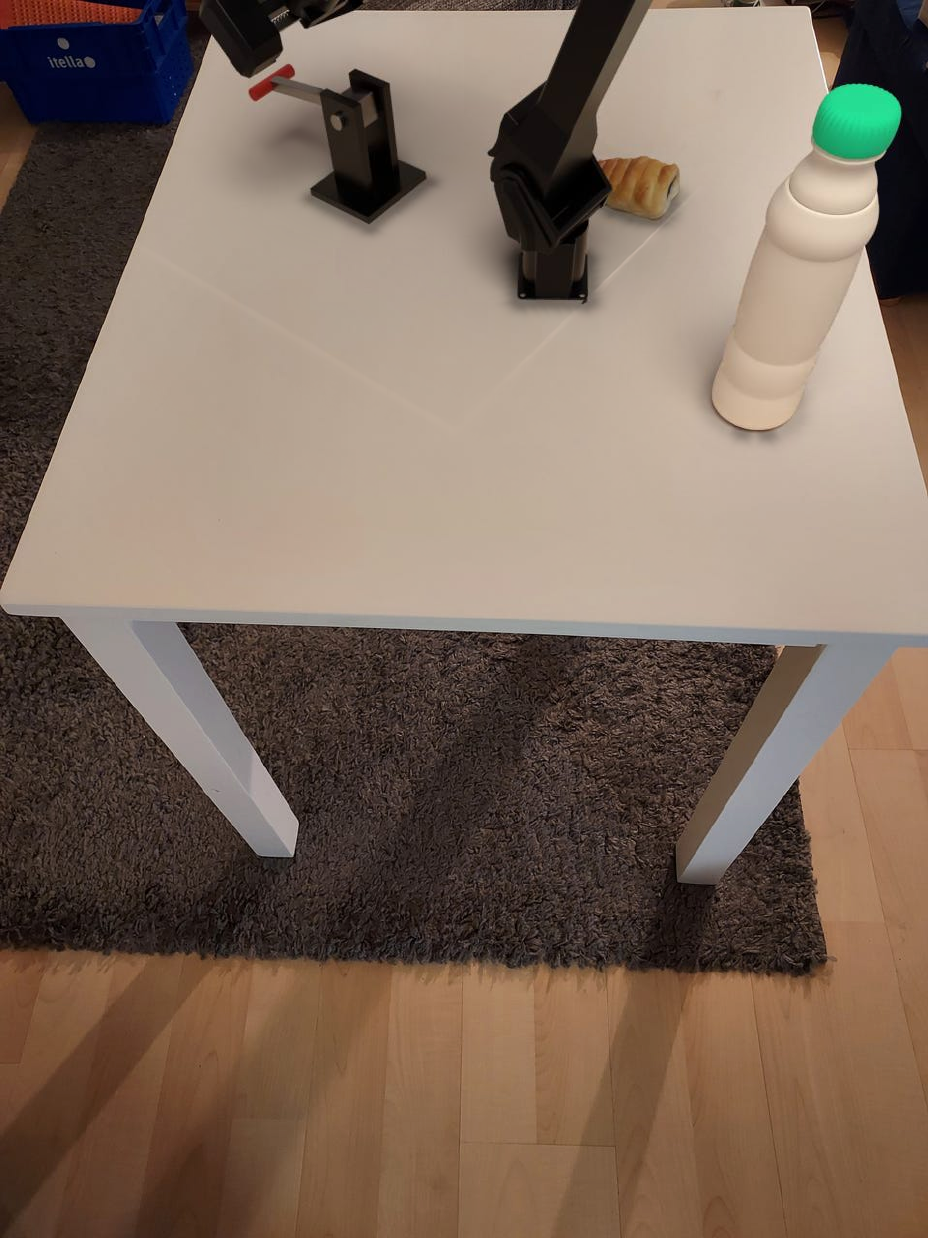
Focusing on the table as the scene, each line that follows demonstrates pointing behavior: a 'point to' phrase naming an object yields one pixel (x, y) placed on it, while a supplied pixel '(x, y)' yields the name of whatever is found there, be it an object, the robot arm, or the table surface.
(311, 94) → the lever
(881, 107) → the water bottle
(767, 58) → the table surface
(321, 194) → the switch bracket
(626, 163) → the pastry
